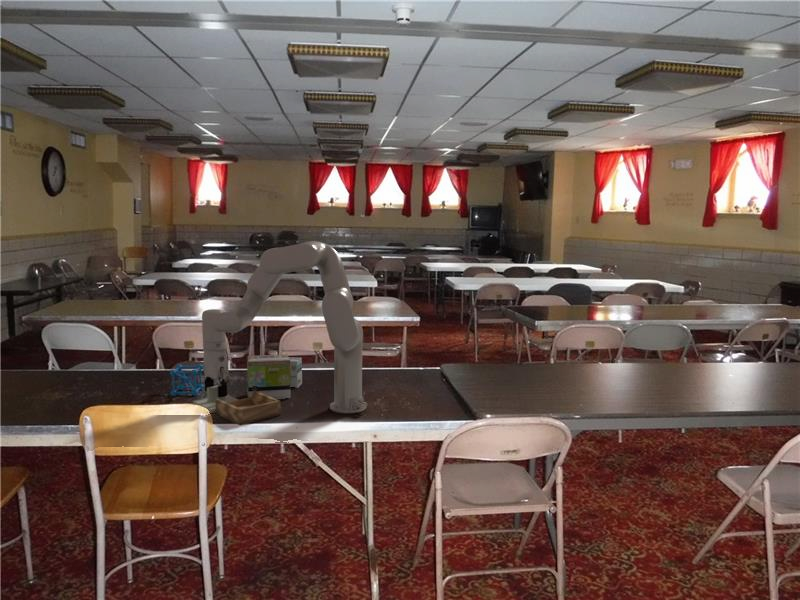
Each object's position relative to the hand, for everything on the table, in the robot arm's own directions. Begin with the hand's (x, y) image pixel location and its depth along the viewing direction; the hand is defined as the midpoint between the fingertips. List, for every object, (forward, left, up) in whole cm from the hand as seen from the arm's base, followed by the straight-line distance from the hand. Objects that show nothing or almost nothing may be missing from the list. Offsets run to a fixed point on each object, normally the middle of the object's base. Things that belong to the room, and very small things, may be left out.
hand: (215, 393), depth 214 cm
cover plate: (-2, 0, -3) cm, 4 cm away
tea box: (-4, -19, -4) cm, 20 cm away
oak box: (-17, -3, -4) cm, 17 cm away
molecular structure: (+20, +1, -4) cm, 21 cm away
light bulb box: (+4, -32, -4) cm, 33 cm away
